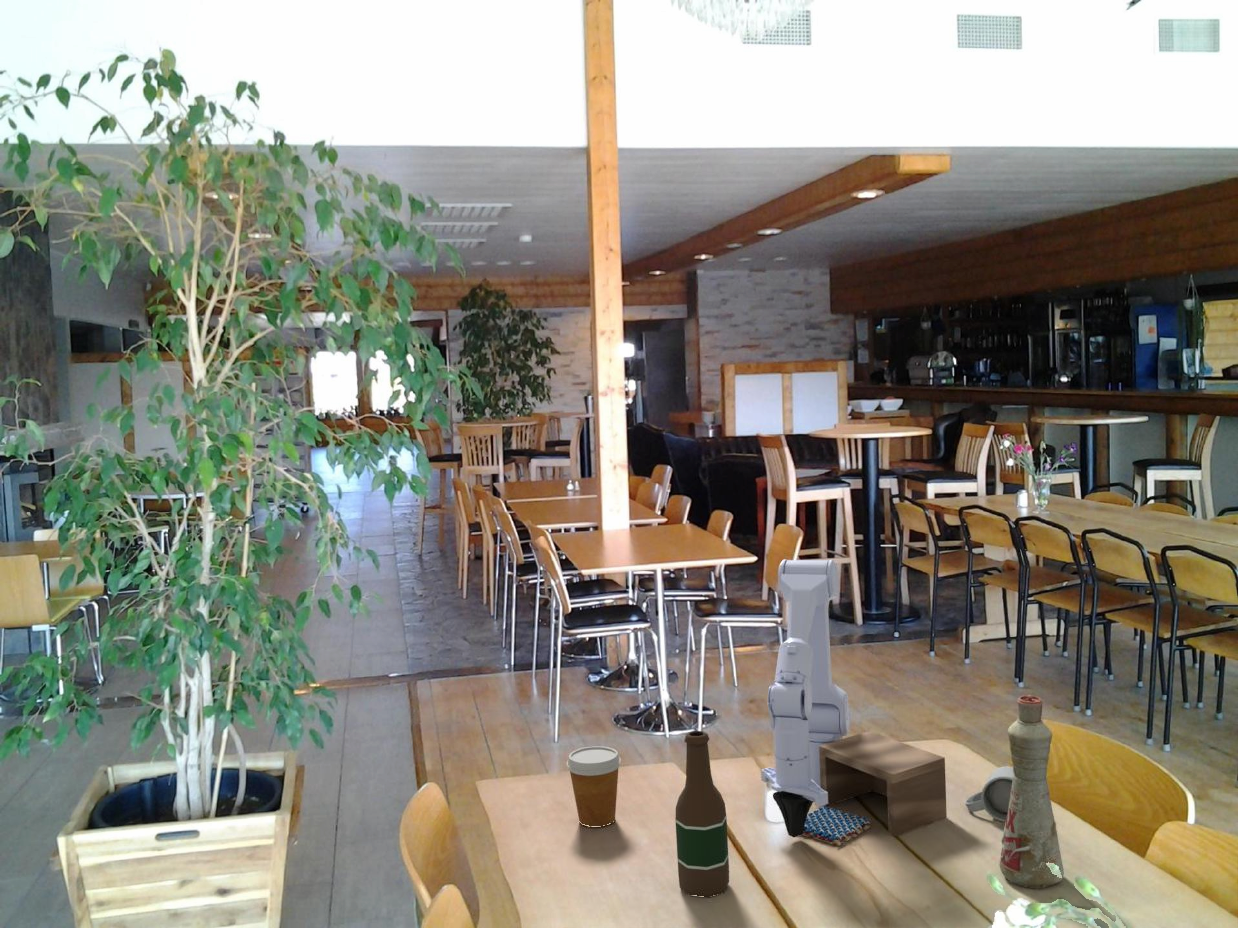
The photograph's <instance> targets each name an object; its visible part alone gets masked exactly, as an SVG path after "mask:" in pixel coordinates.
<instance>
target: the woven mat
mask: <svg viewBox="0 0 1238 928" xmlns="http://www.w3.org/2000/svg"><path fill="white" fill-rule="evenodd" d="M871 824H872V822H871V821H870V819H868V818H866V817H865V816H858V815H857V814H850V813H849V812H848V811H847V812H844V811H842V809H839V810H836V809H834V807H831V808H830V807H828V806H826V805H823V806H819V807H818V808H817V809H814V810H811V812H808V814H807V818H806V822H805V826H804V831H803V835H802V836H805V837H808V836H809V837H808V838H810V837H811V838H810V839H815V840H818V841H821V842H825V843H828V844H831V845H833V846H836V847H837V846H838V847H839V846H841V845H842V844H843V843H845V842H848V841H849V840H850V839H853V838H852V837H854V838H856V837H857V838H858V835H860V834H861V833H863V832H864V830H865V831H867V830H869V829H870V828H871V827H872V826H871Z"/></svg>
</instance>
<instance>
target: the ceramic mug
mask: <svg viewBox="0 0 1238 928" xmlns="http://www.w3.org/2000/svg"><path fill="white" fill-rule="evenodd" d="M1013 775H1014V772H1013V766H1008V765H1007V766H1000V767H998V768H996V769H994V770H993V771H992V772H991V773H989V776H988V777H987V779H986V782H985V783H984V786H983V787H982V790H981V791H979V792H976V793H974V794H973V795H970V796H969V797H968V798H967V799H966V800H965V801H964V804H965V806H966V808H967V810H968V811H969V812H970V813H971V812H972V813H975V812H976V813H977V812H980V811H984V810H985V812H986V813H987V814H988V815H989V816H991V817H992V818H993V819H994V820H997V821H1000V822H1003V821H1004V823H1006V819H1007V813H1008V807H1009V800H1010V794H1011V788H1012V781H1013Z"/></svg>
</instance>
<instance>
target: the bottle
mask: <svg viewBox="0 0 1238 928" xmlns="http://www.w3.org/2000/svg"><path fill="white" fill-rule="evenodd" d="M1016 702H1017V710H1018V718H1017V719H1016V720H1015V721H1014V722H1013V723H1012V724H1011V725H1010V726H1009V728H1008V729H1007V735H1008V740H1009V749H1010V750H1009V751H1010V757H1011V763H1012V767H1013V772H1014V775H1013V781H1012V788H1011V794H1010V800H1009V807H1008V813H1007V819H1006V822H1004V823H1005V824H1004V828H1003V835H1002V838H1001V840H1000V842H1001V843H1002V845H1001V852H1000V858H999V863H998V865H999V870H1000V872H1001V874H1002V875H1003V876H1004V877H1005V879H1007V880H1008V881H1009V882H1011V883H1013V884H1016V885H1019V886H1021V887H1026V888H1029V889H1030V888H1032V889H1039V888H1040V889H1041V888H1043V889H1044V888H1046V887H1050V886H1053V885H1055V884H1058V883H1060V882H1061V881H1062V880H1063V879H1064V876H1065V875H1064V874H1065V871H1064V865H1063V859H1062V854H1061V849H1060V842H1059V837H1058V833H1057V832H1058V831H1057V826H1056V824H1057V823H1056V820H1055V816H1054V811H1053V806H1052V802H1051V801H1052V800H1051V795H1050V789H1049V784H1048V778H1047V774H1048V764H1049V760H1050V751H1051V745H1052V739H1053V732H1052V730H1051V728H1049V726H1048V725H1046V723H1044V721H1043V720H1042V715H1043V701H1042V699H1041V698H1040V697H1038V696H1035V695H1031V694H1029V695H1021V696H1019V697H1018V699H1017V701H1016ZM1048 862H1049V863H1054V864H1055V865H1057V866H1059V870H1060V872H1061V875H1062V878H1059V877H1057V875H1054V874H1052V872H1051V870H1050V868H1049V867H1048V866H1047V865H1046V863H1048Z"/></svg>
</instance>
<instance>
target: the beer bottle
mask: <svg viewBox="0 0 1238 928" xmlns="http://www.w3.org/2000/svg"><path fill="white" fill-rule="evenodd" d="M683 741H684V743H685V744H686V752H685V753H686V758H685V759H686V766H685V767H686V768H685V771H686V772H685V773H686V774H685V775H686V777H685V784H684V788H683V790H682V791H681V793H680V795H679V797H678V799H677V803H676V806H675V816H674V817H675V818H674V819H675V821H674V822H675V837H676V854H677V870H678V871H677V872H678V873H677V874H678V883H679V884H678V885H679V888H680V889H681V891H683V890H684V891H685V892H686V893H685V892H684V891H683V892H684V893H685V894H687V895H688V894H689V895H697V896H704V897H710V896H713V895H716V896H718V895H717V894H719V895H722V894H721V893H723V894H724V893H725V892H726V890H727V888H728V885H729V883H730V861H729V859H730V858H729V843H728V842H729V841H728V839H729V838H728V824H727V822H728V820H727V810H726V803H725V800H724V798H723V796H722V794H721V792H720V791H719V790H718V788H717V787H716V785H715V784H714V781H713V777H712V771H711V761H710V751H709V744H708V742H709V741H710V737H709V734H708V733H707V732H705V731H703V730H694V731H689V732H687V733H686V735H685V737H684V740H683ZM689 895H688V896H689ZM704 897H703V898H704ZM713 897H714V896H713ZM710 898H711V897H710Z"/></svg>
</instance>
